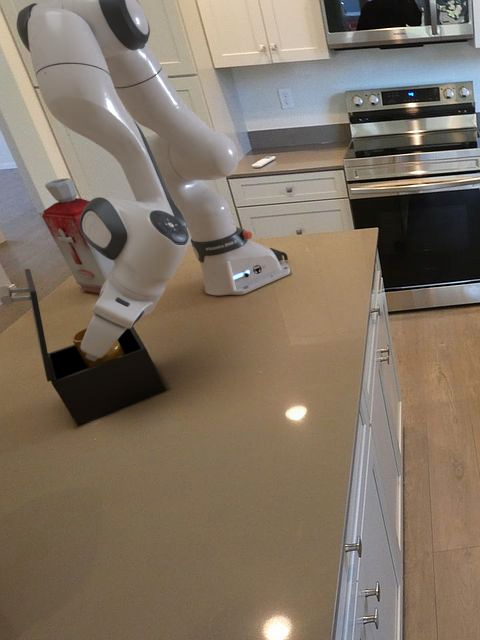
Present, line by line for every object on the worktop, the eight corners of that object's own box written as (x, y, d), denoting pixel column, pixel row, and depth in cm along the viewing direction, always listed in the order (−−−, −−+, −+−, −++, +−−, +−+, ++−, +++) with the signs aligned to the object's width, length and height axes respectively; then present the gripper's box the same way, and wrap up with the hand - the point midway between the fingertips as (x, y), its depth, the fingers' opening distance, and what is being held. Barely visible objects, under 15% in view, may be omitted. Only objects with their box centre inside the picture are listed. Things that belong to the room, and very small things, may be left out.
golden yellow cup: (124, 353, 114) (107, 320, 110) (130, 366, 110) (113, 332, 106) (88, 366, 111) (69, 333, 107) (93, 380, 107) (74, 345, 102)
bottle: (144, 283, 160) (95, 176, 144) (111, 299, 152) (55, 188, 136) (111, 278, 166) (60, 174, 150) (78, 293, 158) (20, 186, 142)
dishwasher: (151, 364, 122) (132, 324, 116) (166, 390, 112) (146, 348, 107) (69, 395, 114) (44, 354, 109) (78, 426, 105) (51, 383, 99)
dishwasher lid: (29, 268, 102) (-5, 270, 99) (36, 290, 93) (-2, 293, 90) (45, 352, 109) (13, 355, 106) (53, 380, 99) (18, 385, 96)
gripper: (133, 261, 111) (103, 313, 115) (90, 308, 94) (57, 367, 98) (165, 279, 114) (135, 329, 118) (130, 327, 97) (96, 384, 101)
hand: (100, 347), depth 108 cm, fingers closed on golden yellow cup, 6 cm apart
